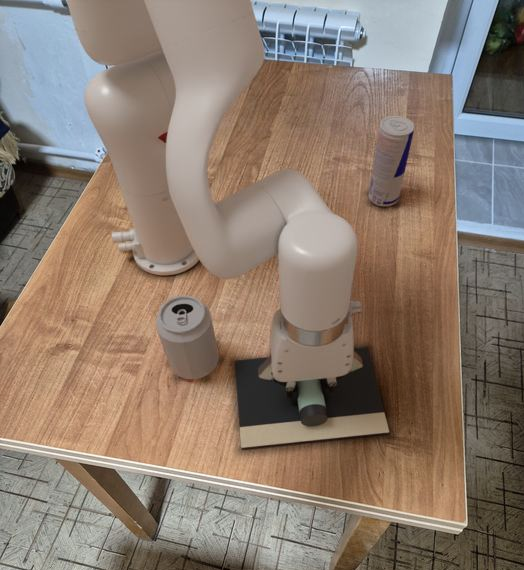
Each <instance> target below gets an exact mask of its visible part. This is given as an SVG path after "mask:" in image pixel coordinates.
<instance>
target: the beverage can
mask: <svg viewBox="0 0 524 570" xmlns="http://www.w3.org/2000/svg"><path fill="white" fill-rule="evenodd" d="M414 129H415V124H414V122H413V121H412V120H410V119H409V118H407V117H405V116H401V115H389V116H386V117H384V118H382V119H381V121H380V123H379V128H378V133H377V138H376V139H377V140H376V145H375V153H374V158H373V165H372V172H371V176H370V182H369V189H368V199H369V201H370V202H371V203H373V204H374V205H376V206H378V207H385V208H386V207H390V206H391V207H392V206H393V205H395V204H397V203H398V201H399V200H400V195H401V190H402V186H403V182H404V177H405V172H406V169H407V165H408V159H409V155H410V150H411V146H412V141H413V137H414V133H415V132H414V131H415V130H414Z"/></svg>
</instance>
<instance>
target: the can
mask: <svg viewBox="0 0 524 570" xmlns="http://www.w3.org/2000/svg"><path fill="white" fill-rule="evenodd" d="M155 329H156V332H157V335H158V336H159V340H160V343H161V346H162V348H163V351H164V354H165V356H166V357H165V358H166V359H167V362H168V364H169V367H170V369H171V371H172V372H173V373H174V374H175V375H177V376H178V377H180V378H182V379H185V380H197V379H202V378H205V377H206V376H208V375H209V374H210V373H212V372H213V371H214V370H215V369H216V367H217V365H218V363H219V359H220V353H219V348H218V344H217V343H218V342H217V339H216V333H215V329H214V325H213V319H212V314H211V311H210V309H209V307H208V306H207V305H206V304H205V303H203V302H202V301H201V300H200V299H199V298H197V297H195V296H193V295H188V294H181V295H175V296H173V297H170V298H168V299H167V300H166V301H165V302H163V303H162V304H161V306H160V307H159V309H158V313H157V315H156V319H155Z"/></svg>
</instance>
